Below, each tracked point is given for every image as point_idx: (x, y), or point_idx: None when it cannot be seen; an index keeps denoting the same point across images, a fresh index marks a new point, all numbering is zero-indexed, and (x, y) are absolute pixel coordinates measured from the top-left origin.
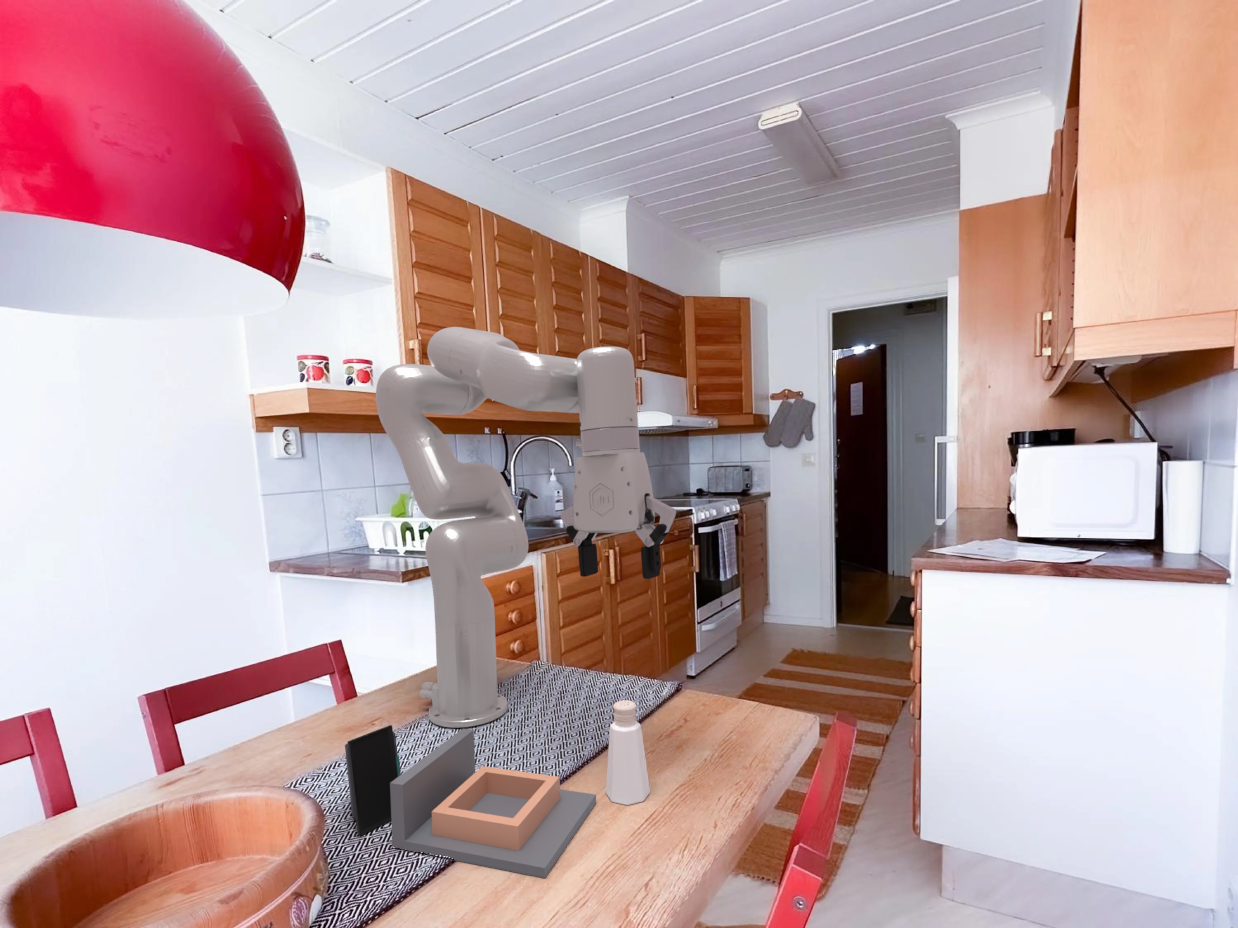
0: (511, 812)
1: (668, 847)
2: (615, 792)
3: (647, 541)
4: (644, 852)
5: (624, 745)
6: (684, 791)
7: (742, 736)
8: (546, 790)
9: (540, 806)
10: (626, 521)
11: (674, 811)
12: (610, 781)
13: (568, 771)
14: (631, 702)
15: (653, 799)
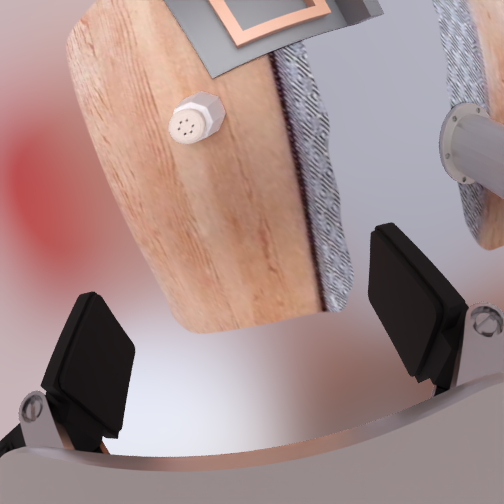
0: (254, 3)
1: (110, 86)
2: (196, 93)
3: (36, 411)
4: (119, 66)
5: (178, 105)
6: (162, 158)
7: (202, 276)
8: (223, 19)
9: (213, 8)
10: (16, 499)
11: (144, 126)
12: (204, 94)
13: (289, 101)
14: (182, 137)
15: None
